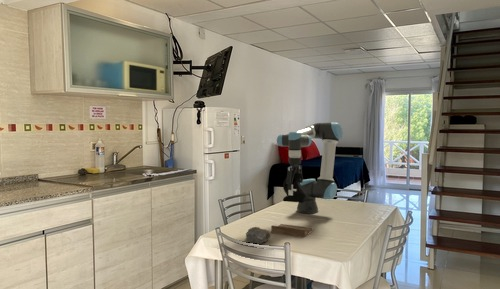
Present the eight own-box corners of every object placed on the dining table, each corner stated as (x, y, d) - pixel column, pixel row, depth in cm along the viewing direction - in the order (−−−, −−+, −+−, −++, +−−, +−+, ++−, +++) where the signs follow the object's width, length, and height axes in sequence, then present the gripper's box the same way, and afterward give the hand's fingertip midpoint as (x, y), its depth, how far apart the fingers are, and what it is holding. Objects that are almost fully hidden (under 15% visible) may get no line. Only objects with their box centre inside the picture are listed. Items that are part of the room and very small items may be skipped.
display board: (281, 226, 228) (281, 219, 227) (312, 230, 218) (312, 222, 218) (271, 232, 214) (271, 225, 214) (304, 237, 205) (304, 229, 205)
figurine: (281, 201, 225) (281, 169, 224) (285, 199, 233) (286, 167, 232) (304, 203, 219) (304, 169, 218) (307, 200, 227) (308, 168, 226)
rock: (262, 246, 191) (272, 239, 205) (263, 234, 191) (273, 227, 205) (240, 243, 196) (251, 235, 210) (241, 231, 196) (252, 224, 210)
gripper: (298, 156, 236) (298, 191, 237) (280, 158, 219) (280, 195, 219) (308, 156, 231) (308, 192, 232) (291, 158, 214) (290, 197, 215)
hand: (294, 194), depth 226 cm, fingers closed on figurine, 9 cm apart
